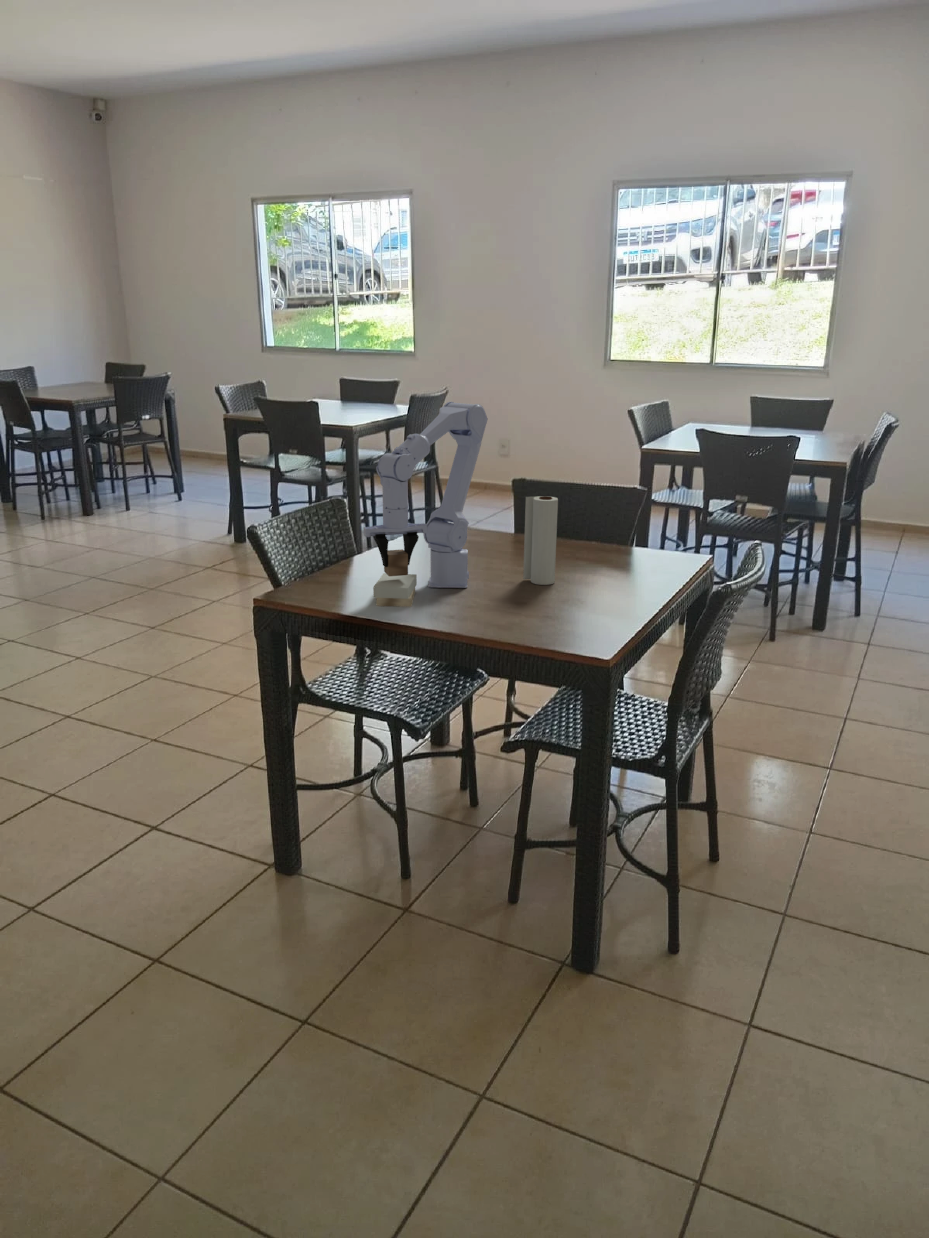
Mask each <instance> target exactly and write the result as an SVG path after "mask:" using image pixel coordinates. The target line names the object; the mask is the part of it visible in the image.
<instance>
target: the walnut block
mask: <svg viewBox="0 0 929 1238" xmlns="http://www.w3.org/2000/svg"><path fill="white" fill-rule="evenodd" d="M383 572H384V573H386V574H387V575H388V576H401V575H408V574H409V565H408V554H407V553H406V552H405V551H404V548H403V549H390V550H389V549H388V567H384V566H383Z"/></svg>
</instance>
